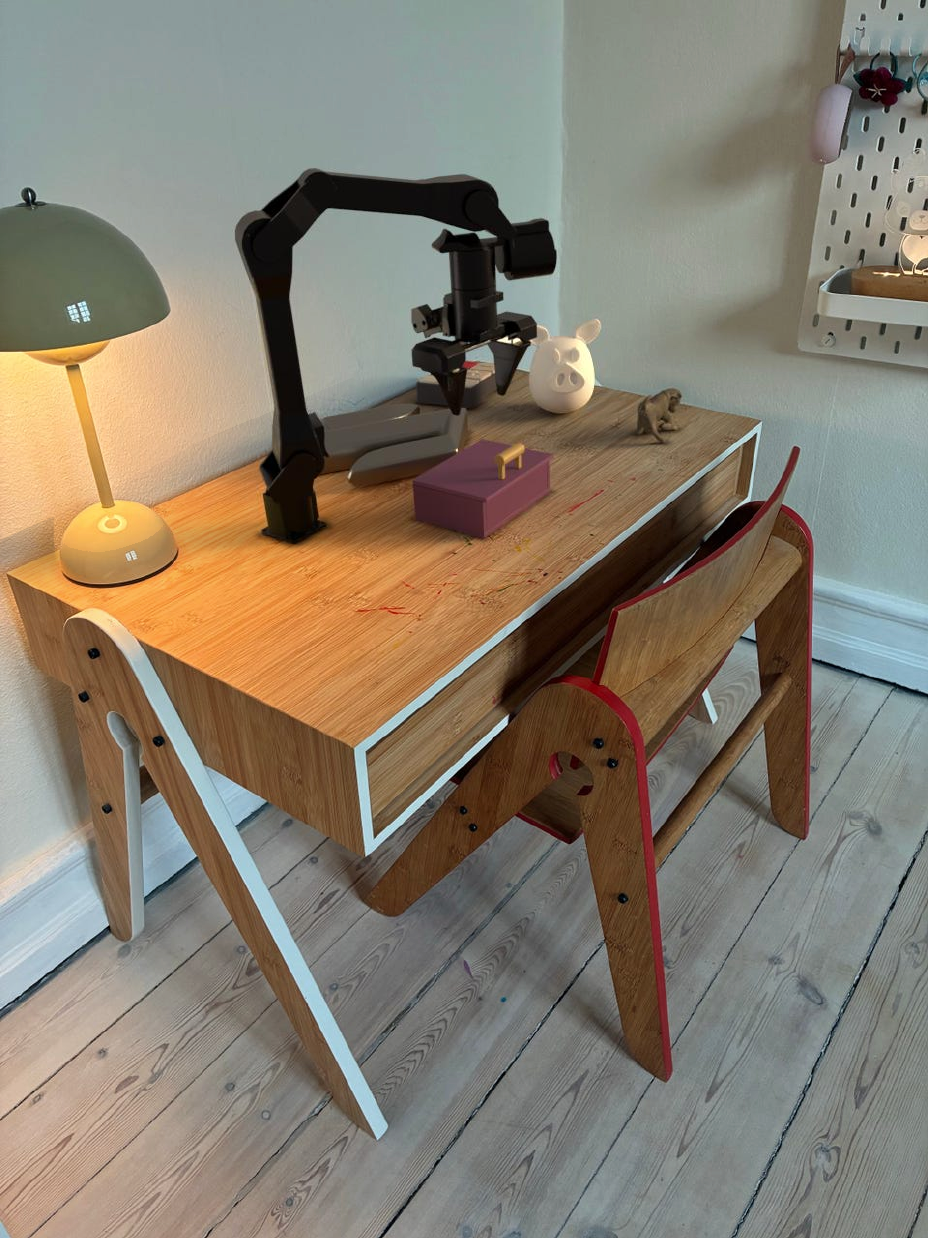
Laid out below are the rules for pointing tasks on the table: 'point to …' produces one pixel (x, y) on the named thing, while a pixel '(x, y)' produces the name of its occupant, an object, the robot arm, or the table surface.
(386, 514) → the table surface
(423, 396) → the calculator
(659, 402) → the brown monkey figurine
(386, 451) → the emblem
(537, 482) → the maroon open box
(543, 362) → the piggy bank
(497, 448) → the file box lid
